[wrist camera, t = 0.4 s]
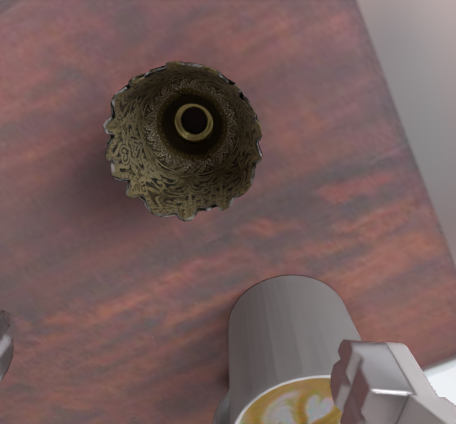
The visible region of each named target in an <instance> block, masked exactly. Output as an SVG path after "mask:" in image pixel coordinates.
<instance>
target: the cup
mask: <svg viewBox="0 0 456 424" xmlns="http://www.w3.org/2000/svg"><path fill="white" fill-rule="evenodd" d="M128 83H129V84H128V85H126V86H125V87H124V88H122V89H121V90H119V91H118V92H117V93H115V95H114V96H113V98H112V100H111V117H110V118H109V119H107V120H106V122H105V123H104V125H103V129H104V131H105V133H107V134H109V135H111V136H110V138H109V139H108V141H107V148H106V152H105V156H106V159H107V160H109V161H110V163H111V162H112V163H111V174H112V176H113V177H114V178H115V179H117V180H119V181H126V182H127V189H126V195H127V196H128V197H129V198H140V199H141V200H142V201H143V202H144V204H145V206H146V208H147V209H148V210H149V211H150V212H151V213H152V214H153V215H155V216H159V217H167V216H178V218H179V219H180V220H183V221H191V220H193V219H194V217H195V215H196V214H197V213H198V212H199V211H209V210H210V209H211V208H214V207H218V208H219V210H220V211H223V210H225V209H227V208H229V207H230V206H231V204H232V203H233V200H234V199H235V198H238V197H240V196H242V195H243V194H245V193H246V192H247V191H248V190H249V188H250V187H251V185H252V182H253V179H254V175H255V168H256V163H257V164H258V163H259V162H261V159H262V152H261V149H260V147H259V143H258V142H259V141H260V140H261V138H262V129H261V125H260V122H259V120H258V119H257V115H256V113H255V110H254V108H253V107H252V105H251V104H250V102H249V101H248V99H247V98H246V97H245V96H244V95H243V94H242V90H241V89H240V88H239V87H238V86H237V85H236V84H235V83H234V82H232V81H231V80H229V79H227V78H226V77H224V76H223V75H222V74H221V73H220V72H218V71H217V70H215V69H213V68H211V67H208V66H205V65H201V64H196V63H184V62H181V61H172V62H167V63H166V65H165V66H162V67H159V68H155V69H151V70H150V71H149V72H147V73H145V74H140V75H137V76H134V77H133V78H131V79H130V80H129V82H128ZM191 108H197V109H200V110H201V111H203V112H204V114H205V116H206V118H207V124H206V127H205V128H204V130H203V131H201V132H199V133H190V132H188V131H187V130H186V129H185V128H184V126H183V124H182V117H183V114H184V113H185V112H186V111H187V110H188V109H191Z"/></svg>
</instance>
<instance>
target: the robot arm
mask: <svg viewBox="0 0 456 424" xmlns="http://www.w3.org/2000/svg"><path fill="white" fill-rule="evenodd" d="M10 325H11V324H10V319H9V313H7V312H5V311H2V310H0V381H2V379H3V377H4V376H5V374H6V373H7V371H8V369H9V366H10V363H11V360H12V358H13V348H14V347H13V339H12V338H11V337H10V336H9V335H8V334H7V333H6V332H5V331H6V330H7V329H8V327H9V326H10ZM338 354H339V356H340V360H339V361H338V362H337V363H335V364H334V365H333V369H332V372H331V383H330V387H331V394H332V398H333V401H334V404H335V406H336V407H337V408H338V409H339V410H340V411H342V412H343V414H342V417H341V420H340V423H341V424H456V405H454V404H453V403H452V402H450V401H449V400H448V399H446V398H444V397H438V395H437V394H436V392H435V390H434V389H433V387H432V386H431V384H430V383H429V381H428V379H427V378H426V376H425V375H424V373H423V371H422V370H421V368H420V367H419V365H418V363H417V362H416V360H415V359H414V357H413V356H412V354H411V352H410V351H409V349H408V348H407V346H405V345H404V344H403V343H391V342H382V343H381V342H371V341H358V340H345V339H343V341H342V342H341V343H340V346H339V349H338Z"/></svg>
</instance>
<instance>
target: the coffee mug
mask: <svg viewBox="0 0 456 424" xmlns="http://www.w3.org/2000/svg"><path fill="white" fill-rule="evenodd" d="M343 339H345V340H358V341H362V340H361V338H360V336H359V334H358V331H357V329H356V327H355V325H354V323H353V321H352V319H351V317H350V315H349V313H348V311H347V309H346V307H345V305H344V303H343V301H342V299H341V298H340V297H339V295H338V294H337V293H336V292H335V291H334V290H333V289H332V288H330V287H329V286H328V285H326V284H325V283H323V282H321V281H318V280H316V279H313V278H309V277H305V276H298V275H288V276H280V277H275V278H271V279H267V280H265V281H262V282H260V283H258V284H257V285H255V286H253V287H252V288H250V289H249V290H247V291H246V292H245V293H244V294H243V295H242V296H241V297H240V298H239V299H238V301H237V302H236V304H235V306H234V307H233V309H232V311H231V313H230V317H229V322H228V343H229V390H228V391H227V392H226V394H225V395H224V396H223V398H222V399H221V400H220V402H219V404H218V406H217V408H216V411H215V414H214V417H213V423H212V424H341V423H340V420H341V417H342V414H343V412H342V411H340V410H339V409H338V408H337V407H336V406H335V404H334V401H333V398H332V394H331V387H330V383H331V372H332V369H333V365H334V364H335V363H337V362H338V361H339V360H340V356H339V354H338V349H339V346H340V343H341V342H342V341H343Z"/></svg>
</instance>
